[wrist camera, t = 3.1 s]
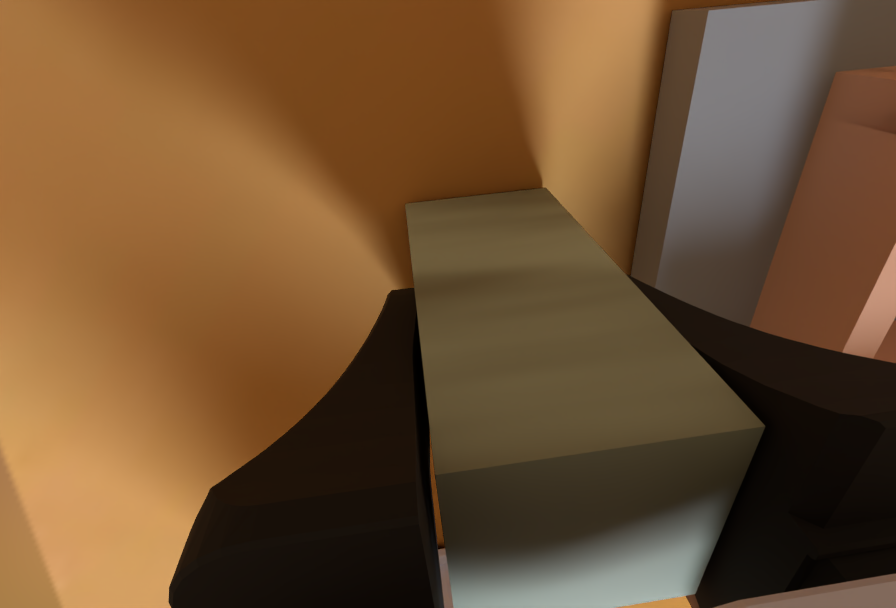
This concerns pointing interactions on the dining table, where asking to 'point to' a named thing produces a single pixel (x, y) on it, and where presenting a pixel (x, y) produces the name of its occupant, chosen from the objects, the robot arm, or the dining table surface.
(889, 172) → the socket stand
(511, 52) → the dining table surface
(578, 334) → the peg
